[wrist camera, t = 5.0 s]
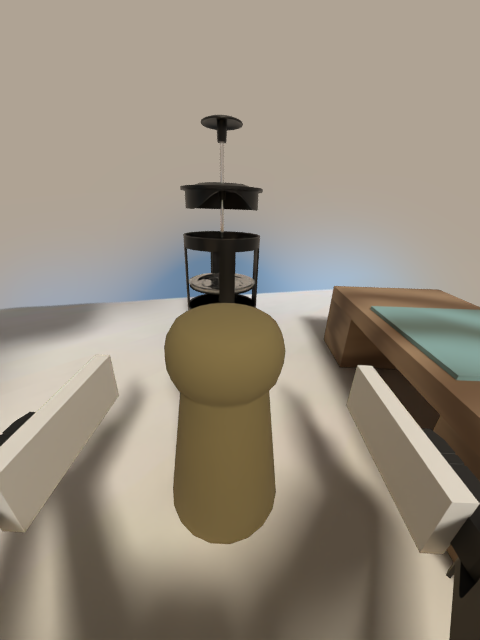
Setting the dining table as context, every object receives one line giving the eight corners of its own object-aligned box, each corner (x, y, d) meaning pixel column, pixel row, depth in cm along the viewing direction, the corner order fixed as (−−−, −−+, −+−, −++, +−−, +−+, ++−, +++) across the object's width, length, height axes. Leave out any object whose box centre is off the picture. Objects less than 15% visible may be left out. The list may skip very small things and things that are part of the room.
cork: (194, 432, 18) (183, 286, 13) (277, 447, 17) (297, 295, 12) (153, 529, 13) (112, 339, 8) (272, 558, 12) (304, 362, 7)
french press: (265, 342, 30) (285, 103, 21) (187, 348, 29) (169, 90, 19) (245, 307, 41) (252, 138, 31) (187, 309, 39) (176, 131, 30)
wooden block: (816, 655, 9) (1096, 559, 6) (499, 640, 10) (627, 537, 7) (418, 342, 31) (439, 287, 28) (323, 339, 31) (334, 283, 28)
